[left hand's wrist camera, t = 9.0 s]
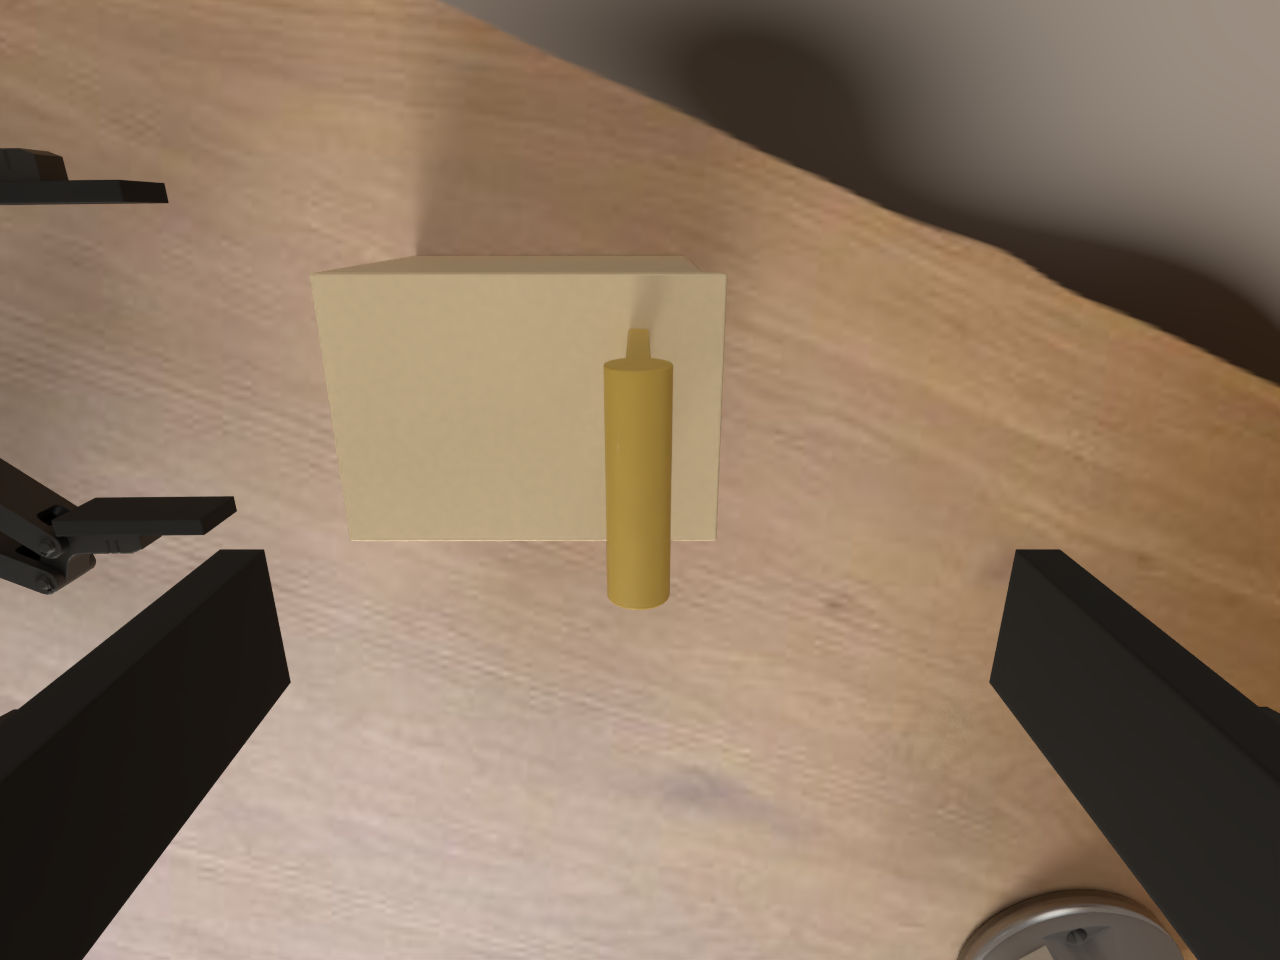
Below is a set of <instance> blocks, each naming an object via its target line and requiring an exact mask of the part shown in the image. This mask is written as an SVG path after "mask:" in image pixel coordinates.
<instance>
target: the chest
mask: <svg viewBox="0 0 1280 960" xmlns="http://www.w3.org/2000/svg"><path fill="white" fill-rule="evenodd" d="M323 272H702V271H700V270H699V269H698V268H697V267H696V266H695V265H694V264H692V263H691V262H690V261H689V260H688V259H687V258H685V257H684V256H411V257H405V258H399V259H393V260H387V261H382V262H376V263H370V264H364V265H358V266H352V267H347V268H341V269H335V270H329V271H323Z"/></svg>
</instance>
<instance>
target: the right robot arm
mask: <svg viewBox="0 0 1280 960" xmlns="http://www.w3.org/2000/svg"><path fill="white" fill-rule="evenodd" d="M132 203H168V198H167V194H166V189H165V185H164V183H155V182H141V181H127V180H68V177H67V173H66V169H65V165H64V161H63V158H62V157H61V156H58V155H56V154H53V153H51V152H48V151H39V150H30V149H21V148H5V149H2V148H1V149H0V205H43V204H132ZM236 511H237V510H236V505H235V501H234V496H224V497H123V498H94V499H92V500H90V501H88V502H86V503H84V504H83V505H81V506H79V507H77V506H76V505H74V504H72V503H71V502H69V501H68V500H66V499H65V498H63V497H61V496H60V495H58V494H57V493H55V492H53V491H52V490H50V489H49V488H47V487H45V486H44V485H42V484H41V483H39V482H37V481H36V480H34V479H33V478H31V477H29V476H28V475H26V474H25V473H23V472H21V471H20V470H18V469H17V468H15V467H13V466H12V465H10V464H9V463H7V462H5V461H4V460H2V459H1V458H0V578H2V579H5V580H8V581H10V582H13V583H16V584H18V585H21V586H24V587H26V588H29V589H32V590H34V591H37V592H40V593H42V594H47V595H48V594H53V593H55V592H56V591H58V590H59V589H61V588H63V587H64V586H66V585H67V584H69V583H70V582H72V581H74V580H75V579H77V578H78V577H80V576H81V575H83V574H84V573H86V572H87V571H89V570H90V569H92V568H94V566H95V564H96V559H95V557H94V555H93V554H109V553H134V552H137V551H139V550H141V549H143V548H145V547H146V546H148V545H149V544H151V543H152V542H154V541H155V540H157V539H158V538H160V537H161V536H162V535H205V534H206V533H208V532H209V531H210V530H212V529H213V528H214V527H216V526H217V525H219V524H220V523H221V522H223V521H224V520H225V519H227V518H228V517H229V516H231V515H232V514H234V513H235V512H236Z"/></svg>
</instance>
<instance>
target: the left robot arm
mask: <svg viewBox="0 0 1280 960" xmlns="http://www.w3.org/2000/svg"><path fill="white" fill-rule="evenodd" d="M290 683H291V682H290V677H289V672H288V667H287V662H286V657H285V652H284V647H283V642H282V637H281V632H280V627H279V622H278V617H277V612H276V607H275V602H274V597H273V592H272V587H271V582H270V577H269V572H268V567H267V562H266V557H265V552H264V550H219V551H218V552H216V553H215V554H214V555H213V556H211V557H210V558H209V559H208V560H206V561H205V562H204V563H203V564H201V565H200V566H199V567H197V568H196V569H195V570H194V571H192V572H191V573H190V574H189V575H187V576H186V577H185V578H184V579H182V580H181V581H180V582H178V583H177V584H176V585H175V586H173V587H172V588H171V589H170V590H168V591H167V592H166V593H165V594H163V595H162V596H161V597H160V598H158V599H157V600H156V601H154V602H153V603H152V604H151V605H149V606H148V607H147V608H146V609H144V610H143V611H142V612H141V613H139V614H138V615H137V616H136V617H134V618H133V619H132V620H130V621H129V622H128V623H127V624H125V625H124V626H123V627H122V628H120V629H119V630H118V631H117V632H115V633H114V634H113V635H111V636H110V637H109V638H108V639H106V640H105V641H104V642H103V643H101V644H100V645H99V646H98V647H96V648H95V649H94V650H93V651H91V652H90V653H89V654H87V655H86V656H85V657H84V658H82V659H81V660H80V661H79V662H77V663H76V664H75V665H74V666H72V667H71V668H70V669H69V670H67V671H66V672H65V673H63V674H62V675H61V676H60V677H58V678H57V679H56V680H55V681H53V682H52V683H51V684H50V685H48V686H47V687H46V688H45V689H43V690H42V691H41V692H39V693H38V694H37V695H36V696H34V697H33V698H32V699H31V700H29V701H28V702H27V703H26V704H24V705H23V706H22V707H20V708H19V709H14V710H12V711H10V712H8V713H6V714H4V715H2V716H0V960H82V959H83V958H84V957H85V955H86V954H87V953H88V951H89V950H90V949H91V947H92V946H93V945H94V943H95V942H96V941H97V939H98V938H99V937H100V935H101V934H102V933H103V931H104V930H105V929H106V927H107V926H108V925H109V923H110V922H111V921H112V919H113V918H114V917H115V916H116V914H117V913H118V912H119V910H120V909H121V908H122V906H123V905H124V904H125V902H126V901H127V900H128V898H129V897H130V896H131V894H132V893H133V892H134V890H135V889H136V888H137V886H138V885H139V884H140V882H141V881H142V880H143V878H144V877H145V876H146V874H147V873H148V872H149V870H150V869H151V868H152V866H153V865H154V864H155V862H156V861H157V860H158V858H159V857H160V856H161V854H162V853H163V852H164V850H165V849H166V848H167V846H168V845H169V844H170V842H171V841H172V840H173V838H174V837H175V836H176V834H177V833H178V832H179V830H180V829H181V828H182V826H183V825H184V824H185V822H186V821H187V820H188V818H189V817H190V816H191V814H192V813H193V812H194V810H195V809H196V808H197V806H198V805H199V804H200V802H201V801H202V800H203V798H204V797H205V796H206V794H207V793H208V792H209V790H210V789H211V788H212V786H213V785H214V784H215V782H216V781H217V780H218V778H219V777H220V776H221V774H222V773H223V772H224V770H225V769H226V768H227V766H228V765H229V764H230V762H231V761H232V760H233V758H234V757H235V756H236V754H237V753H238V752H239V750H240V749H241V748H242V746H243V745H244V744H245V742H246V741H247V740H248V738H249V737H250V736H251V734H252V733H253V732H254V730H255V729H256V728H257V726H258V725H259V724H260V722H261V721H262V720H263V719H264V717H265V716H266V715H267V713H268V712H269V711H270V709H271V708H272V707H273V705H274V704H275V703H276V701H277V700H278V699H279V697H280V696H281V695H282V693H283V692H284V691H285V689H286V688H287V687H288V685H289V684H290ZM989 683H990V684H991V685H992V687H993V688H994V689H995V691H996V692H997V693H998V695H999V696H1000V697H1001V699H1002V700H1003V701H1004V703H1005V704H1006V705H1007V707H1008V708H1009V709H1010V711H1011V712H1012V713H1013V715H1014V716H1015V717H1016V719H1017V720H1018V721H1019V723H1020V724H1021V725H1022V726H1023V728H1024V729H1025V730H1026V732H1027V733H1028V734H1029V736H1030V737H1031V738H1032V740H1033V741H1034V742H1035V744H1036V745H1037V746H1038V748H1039V749H1040V750H1041V752H1042V753H1043V754H1044V756H1045V757H1046V758H1047V760H1048V761H1049V762H1050V764H1051V765H1052V766H1053V768H1054V769H1055V770H1056V772H1057V773H1058V774H1059V776H1060V777H1061V778H1062V780H1063V781H1064V782H1065V784H1066V785H1067V786H1068V788H1069V789H1070V790H1071V792H1072V793H1073V794H1074V796H1075V797H1076V798H1077V800H1078V801H1079V802H1080V804H1081V805H1082V806H1083V808H1084V809H1085V810H1086V812H1087V813H1088V814H1089V816H1090V817H1091V818H1092V820H1093V821H1094V822H1095V824H1096V825H1097V826H1098V828H1099V829H1100V830H1101V832H1102V833H1103V834H1104V836H1105V837H1106V838H1107V840H1108V841H1109V842H1110V844H1111V845H1112V846H1113V848H1114V849H1115V850H1116V852H1117V853H1118V854H1119V856H1120V857H1121V858H1122V860H1123V861H1124V862H1125V864H1126V865H1127V866H1128V868H1129V869H1130V870H1131V872H1132V873H1133V874H1134V876H1135V877H1136V878H1137V880H1138V881H1139V882H1140V884H1141V885H1142V886H1143V888H1144V889H1145V890H1146V892H1147V893H1148V894H1149V896H1150V897H1151V898H1152V900H1153V901H1154V902H1155V904H1156V905H1157V906H1158V908H1159V909H1160V910H1161V912H1162V913H1163V914H1164V916H1165V917H1166V918H1167V919H1168V921H1169V922H1170V923H1171V925H1172V926H1173V927H1174V929H1175V930H1176V931H1177V933H1178V934H1179V935H1180V937H1181V938H1182V939H1183V941H1184V942H1185V943H1186V945H1187V946H1188V947H1189V949H1190V950H1191V951H1192V953H1193V954H1194V955H1195V957H1196V958H1197V959H1198V960H1280V713H1278V712H1276V711H1274V710H1272V709H1270V708H1268V707H1258V706H1257V705H1256V704H1254V703H1253V702H1252V701H1251V700H1249V699H1248V698H1247V697H1246V696H1244V695H1243V694H1242V693H1241V692H1239V691H1238V690H1237V689H1235V688H1234V687H1233V686H1232V685H1230V684H1229V683H1228V682H1227V681H1225V680H1224V679H1223V678H1222V677H1220V676H1219V675H1218V674H1217V673H1215V672H1214V671H1213V670H1211V669H1210V668H1209V667H1208V666H1206V665H1205V664H1204V663H1203V662H1201V661H1200V660H1199V659H1198V658H1196V657H1195V656H1194V655H1193V654H1191V653H1190V652H1189V651H1187V650H1186V649H1185V648H1184V647H1182V646H1181V645H1180V644H1179V643H1177V642H1176V641H1175V640H1174V639H1172V638H1171V637H1170V636H1169V635H1167V634H1166V633H1165V632H1163V631H1162V630H1161V629H1160V628H1158V627H1157V626H1156V625H1155V624H1153V623H1152V622H1151V621H1150V620H1148V619H1147V618H1146V617H1144V616H1143V615H1142V614H1141V613H1139V612H1138V611H1137V610H1136V609H1134V608H1133V607H1132V606H1131V605H1129V604H1128V603H1127V602H1126V601H1124V600H1123V599H1122V598H1120V597H1119V596H1118V595H1117V594H1115V593H1114V592H1113V591H1112V590H1110V589H1109V588H1108V587H1107V586H1105V585H1104V584H1103V583H1102V582H1100V581H1099V580H1098V579H1096V578H1095V577H1094V576H1093V575H1091V574H1090V573H1089V572H1088V571H1086V570H1085V569H1084V568H1083V567H1081V566H1080V565H1079V564H1077V563H1076V562H1075V561H1074V560H1072V559H1071V558H1070V557H1069V556H1067V555H1066V554H1065V553H1064V552H1062V551H1061V550H1016V552H1015V557H1014V562H1013V567H1012V572H1011V577H1010V582H1009V587H1008V592H1007V597H1006V602H1005V607H1004V612H1003V617H1002V622H1001V627H1000V632H999V637H998V642H997V647H996V652H995V657H994V662H993V667H992V672H991V677H990V682H989ZM958 960H1184V958H1183V956H1182V954H1181V951H1180V949H1179V948H1178V946H1177V944H1176V943H1175V941H1174V940H1173V939H1172V937H1171V936H1170V935H1169V933H1168V932H1167V931H1166V929H1165V928H1164V927H1163V925H1162V924H1161V923H1160V921H1159V920H1158V919H1157V917H1156V916H1155V915H1154V914H1153V913H1152V912H1151V911H1149V910H1148V909H1147V908H1146V907H1144V906H1143V905H1141V904H1139V903H1138V902H1136V901H1134V900H1131V899H1129V898H1127V897H1124V896H1121V895H1118V894H1114V893H1109V892H1103V891H1094V890H1070V891H1061V892H1055V893H1050V894H1045V895H1041V896H1038V897H1034V898H1031V899H1028V900H1026V901H1023V902H1020V903H1018V904H1016V905H1014V906H1012V907H1010V908H1008V909H1006V910H1004V911H1002V912H1001V913H999V914H997V915H996V916H994V917H993V918H991V919H990V920H989V921H987V922H986V923H985V924H984V925H983V926H982V927H980V928H979V929H978V930H977V931H976V932H975V933H974V934H973V935H972V937H971V938H970V939H969V940H968V942H967V943H966V945H965V946H964V948H963V949H962V951H961V953H960V955H959V957H958Z"/></svg>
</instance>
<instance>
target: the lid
mask: <svg viewBox="0 0 1280 960" xmlns="http://www.w3.org/2000/svg"><path fill="white" fill-rule="evenodd" d="M310 281H311V288H312V294H313V301H314V308H315V314H316V321H317V327H318V334H319V340H320V347H321V353H322V360H323V366H324V373H325V379H326V386H327V392H328V399H329V405H330V412H331V418H332V425H333V431H334V438H335V444H336V451H337V457H338V464H339V470H340V477H341V484H342V490H343V497H344V503H345V510H346V516H347V523H348V529H349V536H350V540H351V541H606V543H607V595H608V598H609V599H610V601H611V602H612V603H614V604H615V605H617V606H619V607H622V608H626V609H632V610H645V609H651V608H655V607H658V606H660V605H662V604H663V603H665V602H666V601H667V599H668V598H669V595H670V541H715V540H716V536H717V511H718V486H719V462H720V437H721V413H722V388H723V363H724V339H725V314H726V289H727V274H725V273H724V272H318V273H312V274H310Z"/></svg>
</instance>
